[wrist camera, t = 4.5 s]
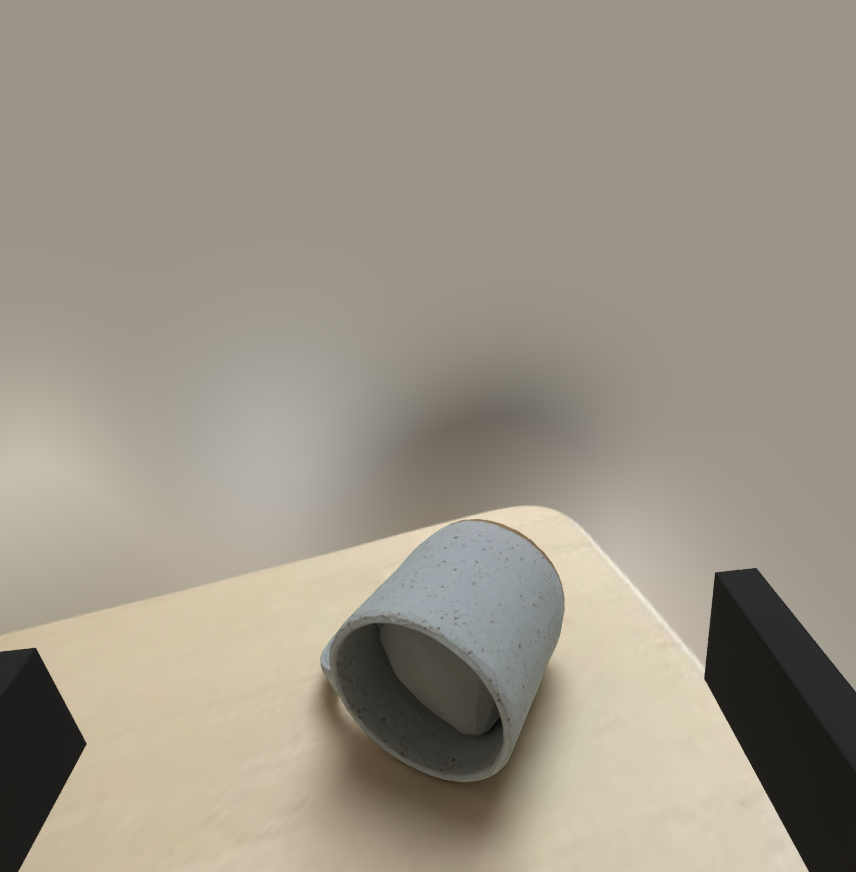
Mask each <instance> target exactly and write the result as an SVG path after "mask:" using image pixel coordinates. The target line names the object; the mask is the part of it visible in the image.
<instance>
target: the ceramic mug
mask: <svg viewBox="0 0 856 872" xmlns="http://www.w3.org/2000/svg"><path fill="white" fill-rule="evenodd" d="M563 616H564V593H563V588H562V583H561V581H560V578H559V575H558V573H557V571H556V569H555V568H554V566H553V564H552V562H551V561H550V560H549V558H548V557H547V556H546V554H545V553H544V552H543V551H542V550H541V549H540V548H539V547H538V546H537V545H536V544H535V543H534V542H533V541H531V540H530V539H529V538H527V537H526V536H524V535H523V534H521V533H520V532H519V531H517V530H515V529H512V528H510V527H508V526H505V525H503V524H500V523H496V522H493V521H488V520H481V519H472V520H462V521H458V522H455V523H452V524H450V525H448V526H446V527H444V528H442V529H440V530H439V531H437V532H436V533H434V534H433V535H432V536H430V537H429V538H428V539H426V540H425V541H424V542H423V543H421V544H420V545H419V546H418V547H417V548H416V549H415V550H414V551H413V552H412V553H411V554H410V555H409V556H408V558H407V559H406V560H405V561H404V562H403V563H402V564H401V566H400V567H399V568H398V569H397V570H396V571H395V572H394V573H393V574H392V575H391V576H390V577H389V578H388V579H387V580H386V581H385V582H384V583H383V584H382V585H381V586H380V587H379V588H378V589H377V590H376V591H375V592H374V593H373V594H372V595H371V596H370V597H369V598H368V599H367V600H366V601H365V602H364V603H363V604H362V605H361V606H360V607H359V608H358V609H357V610H356V611H355V612H354V613H353V614H352V615H351V616H350V617H349V618H348V619H347V620H346V621H345V623H344V624H343V625H342V626H341V628H340V629H339V630H338V632H337V633H336V634H335V635H334V636H333V638H332V639H331V640H330V641H329V643H328V644H327V646H326V647H325V649H324V650H323V652H322V654H321V667H322V671H323V673H324V674H325V676H326V678H327V679H328V681H329V683H330V685H331V686H332V688H333V690H334V691H335V692H336V693H337V694H338V695H339V696H340V698H341V700H342V702H343V703H344V705H345V707H346V709H347V711H348V712H349V713H350V714H351V715H352V717H353V719H354V720H355V721H356V722H357V723H358V724H359V725H360V726H361V728H362V729H363V730H364V731H365V733H366V734H367V735H368V736H370V737H371V738H372V739H373V740H374V741H375V742H376V743H377V744H378V745H379V746H380V747H381V748H383V749H384V750H385V751H387V752H388V753H389V754H391V755H392V756H394V757H395V758H397V759H398V760H400V761H402V762H403V763H405V764H407V765H409V766H411V767H413V768H415V769H417V770H419V771H421V772H423V773H426V774H428V775H431V776H433V777H436V778H441V779H444V780H448V781H456V782H465V783H466V782H473V781H480V780H484V779H486V778H488V777H490V776H492V775H494V774H496V773H497V772H498V771H499V770H501V769H502V768H503V767H504V765H505V764H506V763H507V762H508V761H509V759H510V757H511V754H512V752H513V750H514V747H515V745H516V742H517V740H518V737H519V735H520V732H521V730H522V727H523V725H524V722H525V720H526V717H527V715H528V712H529V710H530V708H531V705H532V703H533V701H534V698H535V696H536V693H537V691H538V689H539V686H540V683H541V680H542V677H543V674H544V671H545V669H546V666H547V664H548V662H549V660H550V658H551V656H552V653H553V651H554V649H555V647H556V645H557V642H558V639H559V636H560V632H561V627H562V621H563Z"/></svg>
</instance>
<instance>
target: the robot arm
mask: <svg viewBox="0 0 856 872" xmlns="http://www.w3.org/2000/svg"><path fill="white" fill-rule="evenodd" d="M704 679H705V681H706V683H707V684H708V686H709V688H710V690H711V692H712V694H713V696H714V697H715V699H716V701H717V703H718V705H719V707H720V708H721V710H722V712H723V714H724V716H725V718H726V720H727V721H728V723H729V725H730V727H731V729H732V731H733V732H734V734H735V736H736V738H737V740H738V742H739V743H740V745H741V747H742V749H743V751H744V753H745V755H746V756H747V758H748V760H749V762H750V764H751V766H752V767H753V769H754V771H755V773H756V775H757V777H758V779H759V780H760V782H761V784H762V786H763V788H764V790H765V791H766V793H767V795H768V797H769V799H770V801H771V802H772V804H773V806H774V808H775V810H776V812H777V814H778V815H779V817H780V819H781V821H782V823H783V825H784V826H785V828H786V830H787V832H788V834H789V836H790V838H791V839H792V841H793V843H794V845H795V847H796V849H797V850H798V852H799V854H800V856H801V858H802V860H803V862H804V863H805V865H806V867H807V869H808V871H809V872H856V692H855V690H854V689H853V688H852V687H851V685H850V684H849V683H848V682H847V680H846V679H845V678H844V677H843V675H842V674H841V673H840V672H839V670H838V669H837V668H836V667H835V665H834V664H833V663H832V662H831V661H830V659H829V658H828V657H827V655H826V654H825V653H824V652H823V651H822V649H821V648H820V647H819V646H818V644H817V643H816V642H815V641H814V640H813V638H812V637H811V636H810V634H809V633H808V632H807V631H806V629H805V628H804V627H803V626H802V624H801V623H800V622H799V621H798V619H797V618H796V617H795V616H794V614H793V613H792V612H791V611H790V609H789V608H788V607H787V606H786V604H785V603H784V602H783V601H782V599H781V598H780V597H779V596H778V594H777V593H776V592H775V591H774V590H773V588H772V587H771V586H770V584H769V583H768V582H767V581H766V580H765V578H764V577H763V576H762V575H761V573H760V572H759V571H758V570H757V568H752V569H743V570H734V571H725V572H716V573H715V579H714V589H713V599H712V609H711V618H710V628H709V638H708V647H707V657H706V667H705V677H704ZM86 744H87V743H86V742H85V740H84V738H83V736H82V734H81V732H80V730H79V728H78V726H77V725H76V723H75V721H74V719H73V717H72V715H71V713H70V711H69V709H68V708H67V706H66V704H65V702H64V700H63V698H62V696H61V694H60V693H59V691H58V689H57V687H56V685H55V683H54V681H53V679H52V677H51V676H50V674H49V672H48V670H47V668H46V666H45V664H44V662H43V660H42V659H41V657H40V655H39V653H38V651H37V649H36V648H30V649H21V650H12V651H3V652H0V872H18V871H19V869H20V867H21V865H22V864H23V862H24V860H25V858H26V856H27V854H28V852H29V851H30V849H31V847H32V845H33V843H34V841H35V839H36V837H37V836H38V834H39V832H40V830H41V828H42V826H43V824H44V823H45V821H46V819H47V817H48V815H49V813H50V811H51V810H52V808H53V806H54V804H55V802H56V800H57V798H58V796H59V795H60V793H61V791H62V789H63V787H64V785H65V783H66V782H67V780H68V778H69V776H70V774H71V772H72V770H73V768H74V767H75V765H76V763H77V761H78V759H79V757H80V755H81V754H82V752H83V750H84V748H85V746H86Z"/></svg>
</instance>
